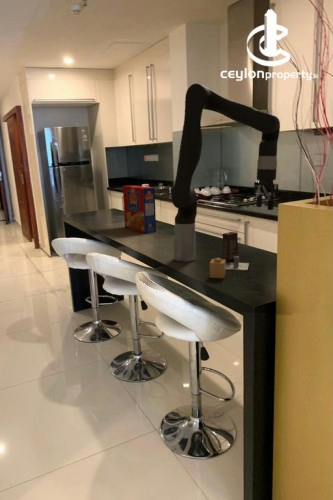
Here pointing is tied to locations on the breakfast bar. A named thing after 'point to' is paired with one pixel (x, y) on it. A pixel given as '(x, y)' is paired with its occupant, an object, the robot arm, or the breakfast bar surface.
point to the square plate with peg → (236, 265)
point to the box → (230, 245)
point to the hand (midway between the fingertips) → (264, 208)
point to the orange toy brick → (217, 268)
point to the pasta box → (139, 208)
